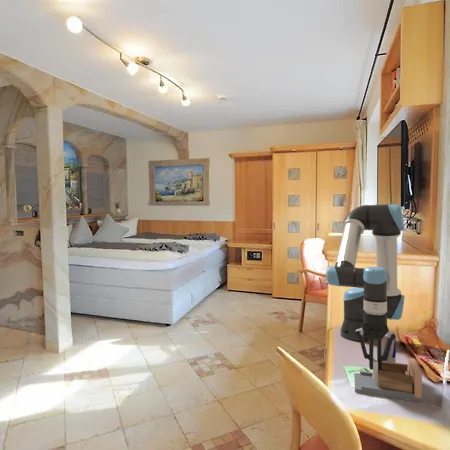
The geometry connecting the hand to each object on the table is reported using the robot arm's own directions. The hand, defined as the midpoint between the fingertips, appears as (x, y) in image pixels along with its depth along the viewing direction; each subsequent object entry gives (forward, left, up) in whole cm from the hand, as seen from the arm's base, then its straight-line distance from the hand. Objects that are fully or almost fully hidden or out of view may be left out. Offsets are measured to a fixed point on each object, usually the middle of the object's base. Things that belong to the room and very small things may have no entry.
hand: (375, 378), depth 119 cm
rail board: (0, +3, -3) cm, 4 cm away
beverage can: (-13, +5, -3) cm, 14 cm away
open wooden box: (0, +6, -2) cm, 6 cm away
